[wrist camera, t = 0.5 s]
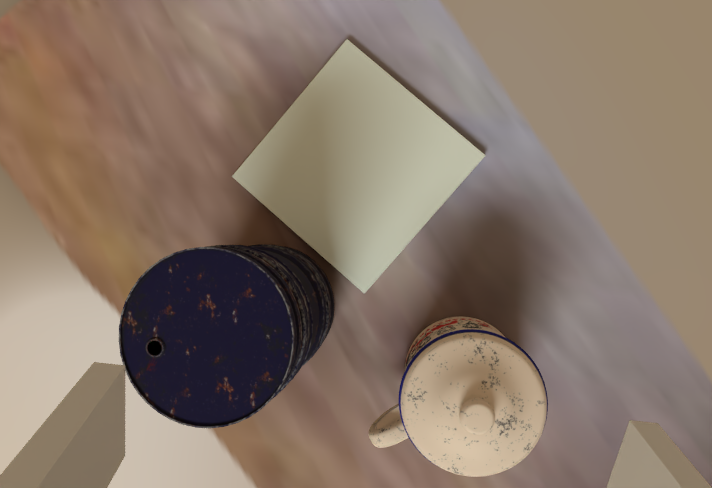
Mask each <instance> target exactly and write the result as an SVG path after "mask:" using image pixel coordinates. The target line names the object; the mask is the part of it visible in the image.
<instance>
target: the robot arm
mask: <svg viewBox="0 0 712 488" xmlns="http://www.w3.org/2000/svg"><path fill="white" fill-rule="evenodd" d="M124 456H125V366H124V365H115V364H106V363H97V362H94V363H93V364H92V365H91V367H90V368H89V369H88V371H87V372H86V373H85V374H84V375H83V376H82V378H81V379H80V380H79V381H78V382H77V383H76V385H75V386H74V387H73V388H72V390H71V391H70V392H69V393H68V394H67V396H66V397H65V398H64V399H63V400H62V402H61V403H60V404H59V405H58V406H57V408H56V409H55V410H54V411H53V413H52V414H51V415H50V416H49V417H48V418H47V420H46V421H45V422H44V423H43V425H42V426H41V427H40V428H39V429H38V430H37V432H36V433H35V434H34V435H33V437H32V438H31V439H30V440H29V441H28V443H27V444H26V445H25V446H24V447H23V449H22V450H21V451H20V452H19V454H18V455H17V456H16V457H15V458H14V460H13V461H12V462H11V463H10V464H9V466H8V467H7V468H6V469H5V470H4V472H3V473H2V474H1V475H0V488H107V487H108V485H109V483H110V481H111V480H112V478H113V476H114V474H115V473H116V471H117V469H118V467H119V465H120V464H121V462H122V460H123V458H124ZM607 488H712V487H711V486H710V485H709V484H708V483H707V481H706V480H705V479H704V478H703V477H702V475H701V474H700V473H699V472H698V471H697V469H696V468H695V467H694V466H693V465H692V464H691V462H690V461H689V460H688V459H687V458H686V456H685V455H684V454H683V453H682V452H681V450H680V449H679V448H678V447H677V446H676V445H675V443H674V442H673V441H672V440H671V439H670V437H669V436H668V435H667V434H666V433H665V431H664V430H663V429H662V428H661V427H660V426H659V424H658V423H649V422H640V421H631V420H630V421H629V424H628V427H627V430H626V433H625V436H624V439H623V441H622V444H621V447H620V450H619V453H618V456H617V459H616V462H615V465H614V467H613V470H612V473H611V476H610V479H609V482H608V485H607Z"/></svg>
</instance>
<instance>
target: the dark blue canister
mask: <svg viewBox="0 0 712 488" xmlns="http://www.w3.org/2000/svg"><path fill="white" fill-rule="evenodd" d="M333 316H334V297H333V292H332V289H331V285H330V283H329V281H328V279H327V277H326V275H325V273H324V272H323V271H322V269H321V268H320V267H319V266H318V265H317V264H316V262H315V261H313V260H312V259H311V258H310V257H308V256H307V255H305V254H303V253H302V252H300V251H298V250H295V249H292V248H288V247H283V246H276V245H252V246H243V245H216V246H209V247H198V248H191V249H185V250H182V251H179V252H176V253H173V254H171V255H169V256H167V257H165V258H163V259H161V260H159V261H158V262H157V263H155V264H154V265H152V266H151V267H150V268H149V269H148V270H147V271H146V272H145V273H144V274H143V275H142V276H141V277H140V278H139V279H138V281H137V282H136V284H135V285H134V286H133V288H132V289H131V291H130V293H129V295H128V297H127V299H126V301H125V304H124V307H123V310H122V313H121V319H120V325H119V345H120V353H121V358H122V362H123V365H124V366H125V371H126V373H127V375H128V377H129V379H130V381H131V383H132V385H133V386H134V388H135V389H136V391H137V392H138V394H139V395H140V396H141V397H142V398H143V399H144V400H145V401H146V403H147V404H149V405H150V406H151V407H152V408H153V409H155V410H156V411H157V412H158V413H160V414H162V415H163V416H165V417H167V418H168V419H171V420H173V421H175V422H178V423H181V424H183V425H187V426H192V427H198V428H217V427H225V426H228V425H232V424H235V423H238V422H240V421H242V420H245V419H247V418H249V417H251V416H252V415H253V414H255V413H256V412H258V411H259V410H261V409H262V408H263V407H264V406H265V405H266V404H267V403H268V402H269V401H270V400H271V399H272V398H274V397H275V396H276V395H277V394H278V393H279V392H280V391H282V390H283V389H284V388H285V386H286V385H287V384H288V383H289V382H290V381H291V380H292V379H293V378H294V376H295V375H296V374H297V373H298V371H299V370H300V368H301V367H302V366H303V365H304V364H305V363H306V362H307V361H308V360H309V359H310V358H311V357H312V356H313V355H314V354H315V353H316V352H317V350H318V349H319V348H320V346H321V344H322V343H323V341H324V340H325V338H326V336H327V334H328V332H329V330H330V328H331V325H332V321H333Z"/></svg>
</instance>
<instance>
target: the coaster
mask: <svg viewBox="0 0 712 488" xmlns="http://www.w3.org/2000/svg"><path fill="white" fill-rule="evenodd" d="M484 157H485V155H484V154H483V153H482V152H481V151H480V150H478V149H477V148H476V147H475V146H474V145H472V144H471V143H470V142H469V141H468V140H466V139H465V138H464V137H463V136H462V135H461V134H459V133H458V132H457V131H456V130H455V129H453V128H452V127H451V126H450V125H449V124H447V123H446V122H445V121H444V120H443V119H441V118H440V117H439V116H438V115H437V114H436V113H434V112H433V111H432V110H431V109H430V108H428V107H427V106H426V105H425V104H424V103H422V102H421V101H420V100H419V99H418V98H416V97H415V96H414V95H413V94H412V93H411V92H409V91H408V90H407V89H406V88H405V87H403V86H402V85H401V84H400V83H399V82H397V81H396V80H395V79H394V78H393V77H391V76H390V75H389V74H388V73H387V72H386V71H384V70H383V69H382V68H381V67H380V66H378V65H377V64H376V63H375V62H374V61H372V60H371V59H370V58H369V57H368V56H367V55H365V54H364V53H363V52H362V51H361V50H359V49H358V48H357V47H356V46H355V45H353V44H352V43H351V42H350V41H349V40H346V41H345V42H344V43H343V44H342V46H341V47H340V48H339V49H338V50H337V52H336V53H335V54H334V55H333V56H332V58H331V59H330V60H329V61H328V62H327V63H326V65H325V66H324V67H323V68H322V69H321V71H320V72H319V73H318V74H317V75H316V77H315V78H314V79H313V80H312V81H311V83H310V84H309V85H308V86H307V87H306V89H305V90H304V91H303V92H302V93H301V95H300V96H299V97H298V98H297V99H296V101H295V102H294V103H293V104H292V105H291V106H290V108H289V109H288V110H287V111H286V112H285V114H284V115H283V116H282V117H281V118H280V120H279V121H278V122H277V123H276V124H275V126H274V127H273V128H272V129H271V130H270V132H269V133H268V134H267V135H266V136H265V138H264V139H263V140H262V141H261V142H260V144H259V145H258V146H257V147H256V148H255V150H254V151H253V152H252V153H251V154H250V155H249V157H248V158H247V159H246V160H245V161H244V163H243V164H242V165H241V166H240V167H239V169H238V170H237V171H236V172H235V173H234V175H233V176H232V177H233V178H234V179H235V180H236V181H237V182H238V183H240V184H241V185H242V186H243V187H244V188H245V189H246V190H248V191H249V192H250V193H251V194H252V195H253V196H254V197H255V198H257V199H258V200H259V201H260V202H261V203H262V204H263V205H265V206H266V207H267V208H268V209H269V210H270V211H271V212H272V213H274V214H275V215H276V216H277V217H278V218H279V219H280V220H281V221H283V222H284V223H285V224H286V225H287V226H288V227H289V228H291V229H292V230H293V231H294V232H295V233H296V234H297V235H298V236H300V237H301V238H302V239H303V240H304V241H305V242H306V243H307V244H309V245H310V246H311V247H312V248H313V249H314V250H315V251H317V252H318V253H319V254H320V255H321V256H322V257H323V258H324V259H326V260H327V261H328V262H329V263H330V264H331V265H332V266H334V267H335V268H336V269H337V270H338V271H339V272H340V273H341V274H343V275H344V276H345V277H346V278H347V279H348V280H349V281H350V282H352V283H353V284H354V285H355V286H356V287H357V288H358V289H360V290H361V291H362V292H363V293H364V294H365V293H366V291H367V290H368V289H369V288H370V287H371V286H372V285H373V283H374V282H375V281H376V280H377V279H378V278H379V277H380V275H381V274H382V273H383V272H384V271H385V270H386V269H387V267H388V266H389V265H390V264H391V263H392V262H393V261H394V259H395V258H396V257H397V256H398V255H399V254H400V253H401V251H402V250H403V249H404V248H405V247H406V246H407V245H408V243H409V242H410V241H411V240H412V239H413V238H414V237H415V235H416V234H417V233H418V232H419V231H420V230H421V229H422V227H423V226H424V225H425V224H426V223H427V222H428V221H429V219H430V218H431V217H432V216H433V215H434V214H435V213H436V211H437V210H438V209H439V208H440V207H441V206H442V205H443V203H444V202H445V201H446V200H447V199H448V198H449V197H450V195H451V194H452V193H453V192H454V191H455V190H456V189H457V187H458V186H459V185H460V184H461V183H462V182H463V181H464V179H465V178H466V177H467V176H468V175H469V174H470V173H471V171H472V170H473V169H474V168H475V167H476V166H477V165H478V163H479V162H480V161H481V160H482V159H483V158H484Z"/></svg>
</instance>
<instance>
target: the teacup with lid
mask: <svg viewBox="0 0 712 488" xmlns="http://www.w3.org/2000/svg"><path fill="white" fill-rule="evenodd" d="M547 410H548V400H547V392H546V387H545V384H544V381H543V378H542V375H541V373H540V371H539V369H538V368H537V366H536V364H535V363H534V361H533V360H532V359H531V358H530V356H529V355H528V354H527V353H526V352H525V351H524V350H523V349H522V348H521V347H519V346H518V345H517V344H515V343H514V342H512V341H511V340H509V339H507V338H506V337H505V336H504V335H503V334H502V333H501V332H500V331H499V330H497V329H496V328H495V327H493V326H492V325H490V324H488V323H486V322H484V321H482V320H479V319H476V318H472V317H463V316H458V317H449V318H445V319H442V320H439V321H437V322H435V323H433V324H431V325H429V326H428V327H427V328H425V329H424V330H423V331H422V332H421V333H420V334H419V335H418V336H417V337H416V339H415V340H414V341H413V343H412V345H411V347H410V349H409V351H408V354H407V357H406V361H405V370H404V375H403V378H402V381H401V385H400V390H399V404H397V405H395V406H394V407H392V408H390V409H389V410H387V411H386V412H385V413H383V414H382V415H381V416H380V417H379V418H378V419H377V420H376V421H375V422H374V423H373V424H372V426H371V427H370V429H369V437H370V440H371V441H372V443H373V445H374V446H376V447H379V448H383V447H389V446H392V445H395V444H397V443H399V442H401V441H403V440H405V439H407V438H409V439H410V440H411V442H412V443H413V445H414V446H415V447H416V449H417V450H418V451H419V452H420V453H421V454H422V455H423V456H424V457H425V458H427V459H428V460H429V461H430V462H432V463H433V464H435V465H437V466H438V467H440V468H442V469H444V470H446V471H449V472H452V473H455V474H459V475H464V476H472V477H480V476H489V475H493V474H497V473H500V472H503V471H505V470H508V469H509V468H511V467H513V466H515V465H516V464H518V463H519V462H520V461H522V460H523V459H524V458H525V457H526V456H527V455H528V454H529V453H530V452H531V451H532V449H533V448H534V447H535V445H536V444H537V442H538V440H539V438H540V436H541V434H542V432H543V429H544V426H545V422H546V418H547Z"/></svg>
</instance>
